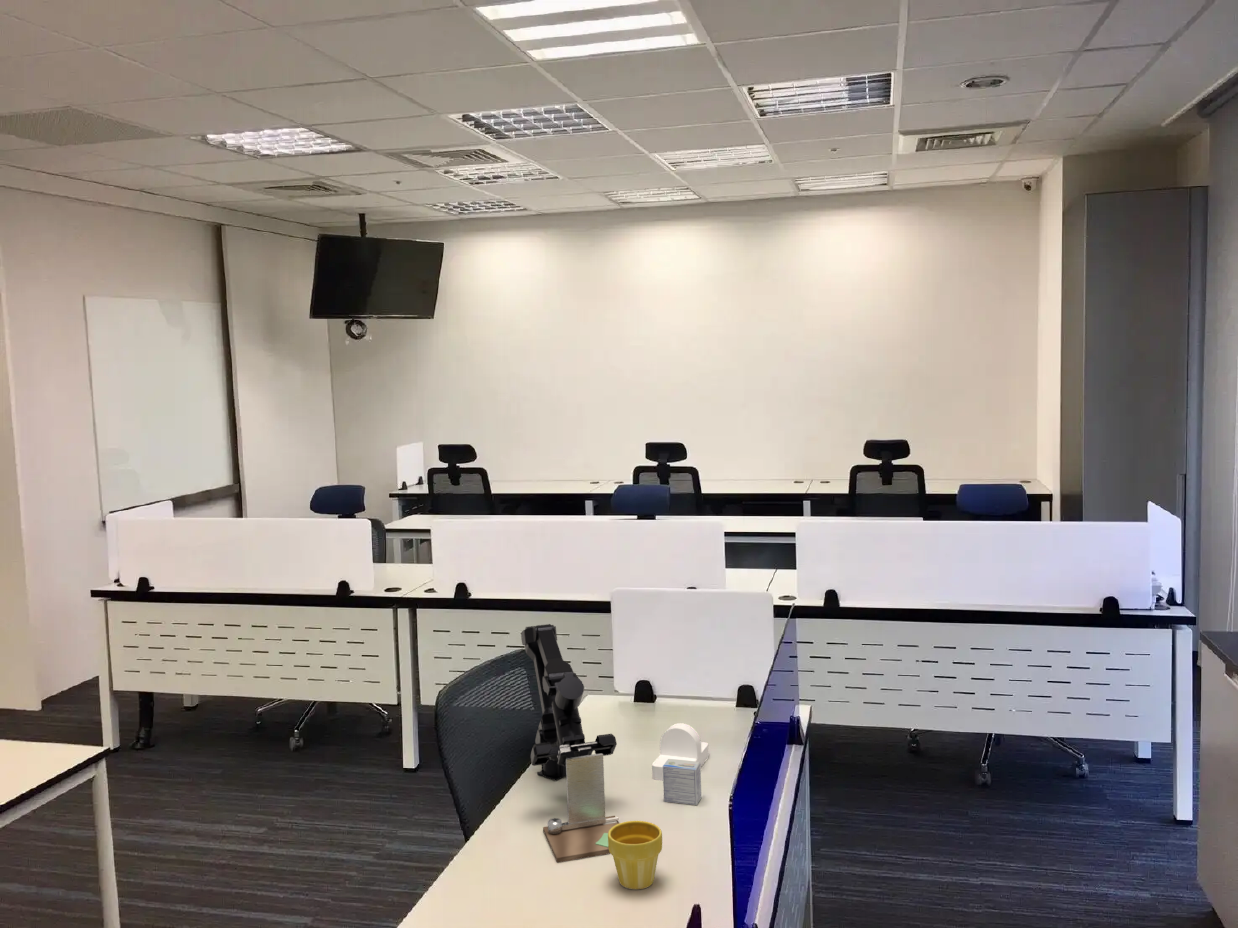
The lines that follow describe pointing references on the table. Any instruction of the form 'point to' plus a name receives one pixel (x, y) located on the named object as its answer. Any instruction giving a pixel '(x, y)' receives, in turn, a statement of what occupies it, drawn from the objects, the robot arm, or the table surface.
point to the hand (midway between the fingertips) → (580, 786)
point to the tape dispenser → (679, 748)
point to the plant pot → (635, 852)
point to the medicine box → (682, 781)
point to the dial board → (580, 841)
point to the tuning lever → (583, 794)
